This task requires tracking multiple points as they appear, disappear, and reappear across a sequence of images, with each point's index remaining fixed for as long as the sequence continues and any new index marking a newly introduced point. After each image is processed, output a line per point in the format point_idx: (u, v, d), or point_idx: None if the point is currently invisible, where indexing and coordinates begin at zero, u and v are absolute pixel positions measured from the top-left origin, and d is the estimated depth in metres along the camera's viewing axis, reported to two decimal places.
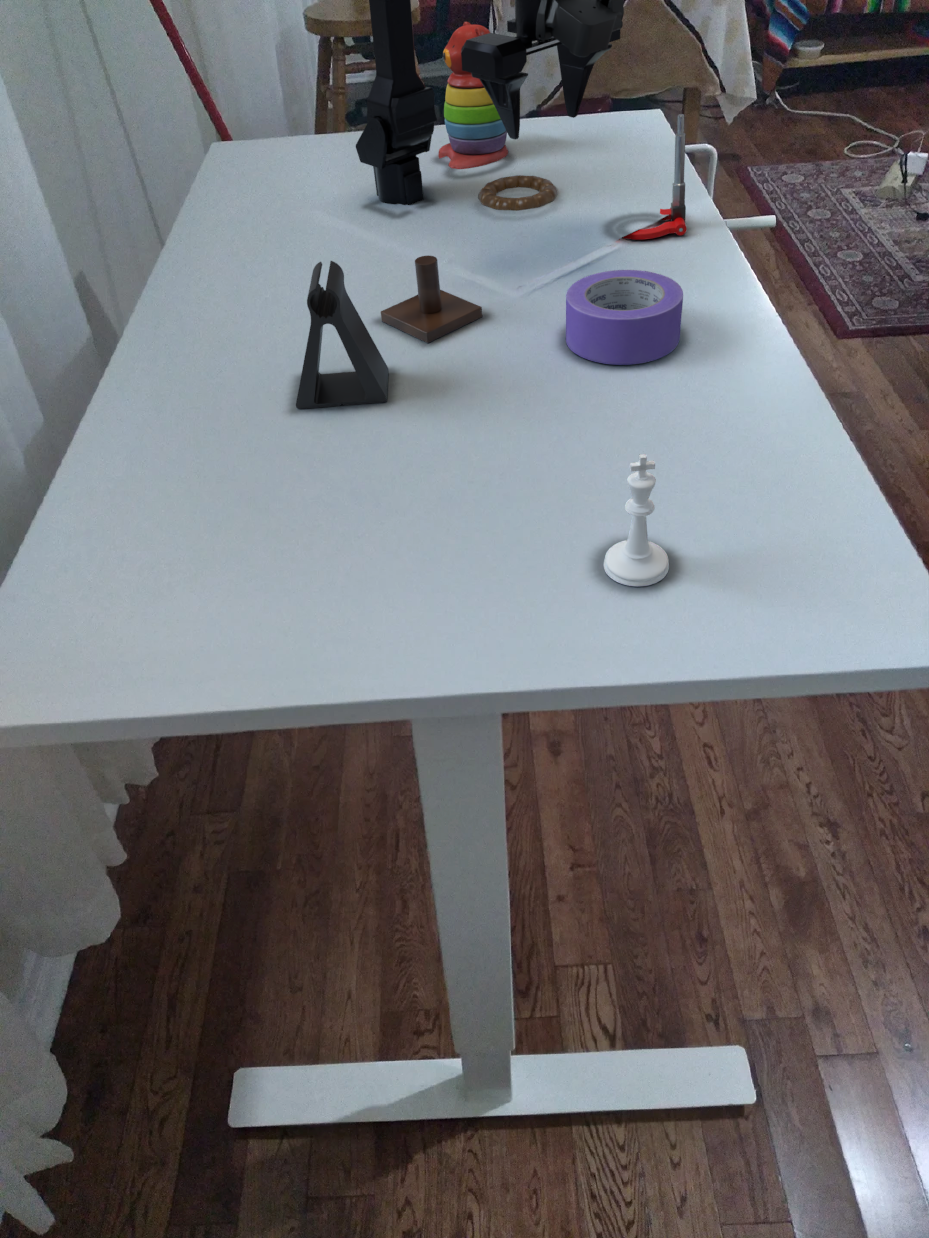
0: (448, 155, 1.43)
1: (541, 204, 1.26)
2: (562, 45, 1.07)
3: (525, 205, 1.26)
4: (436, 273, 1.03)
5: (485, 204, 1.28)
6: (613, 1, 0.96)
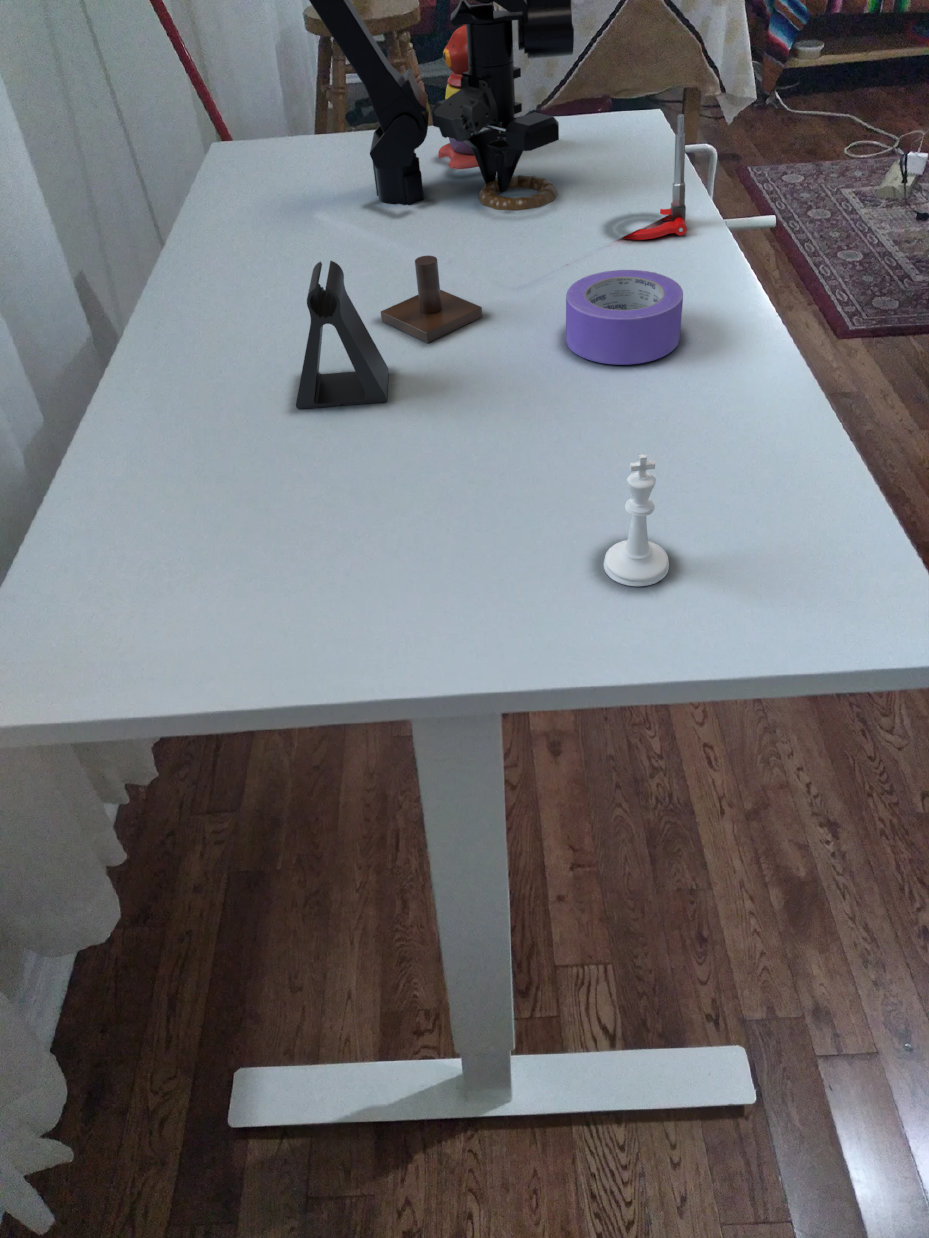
0: (448, 155, 1.43)
1: (541, 204, 1.26)
2: None
3: (525, 205, 1.26)
4: (436, 273, 1.03)
5: (485, 204, 1.28)
6: (464, 108, 1.19)
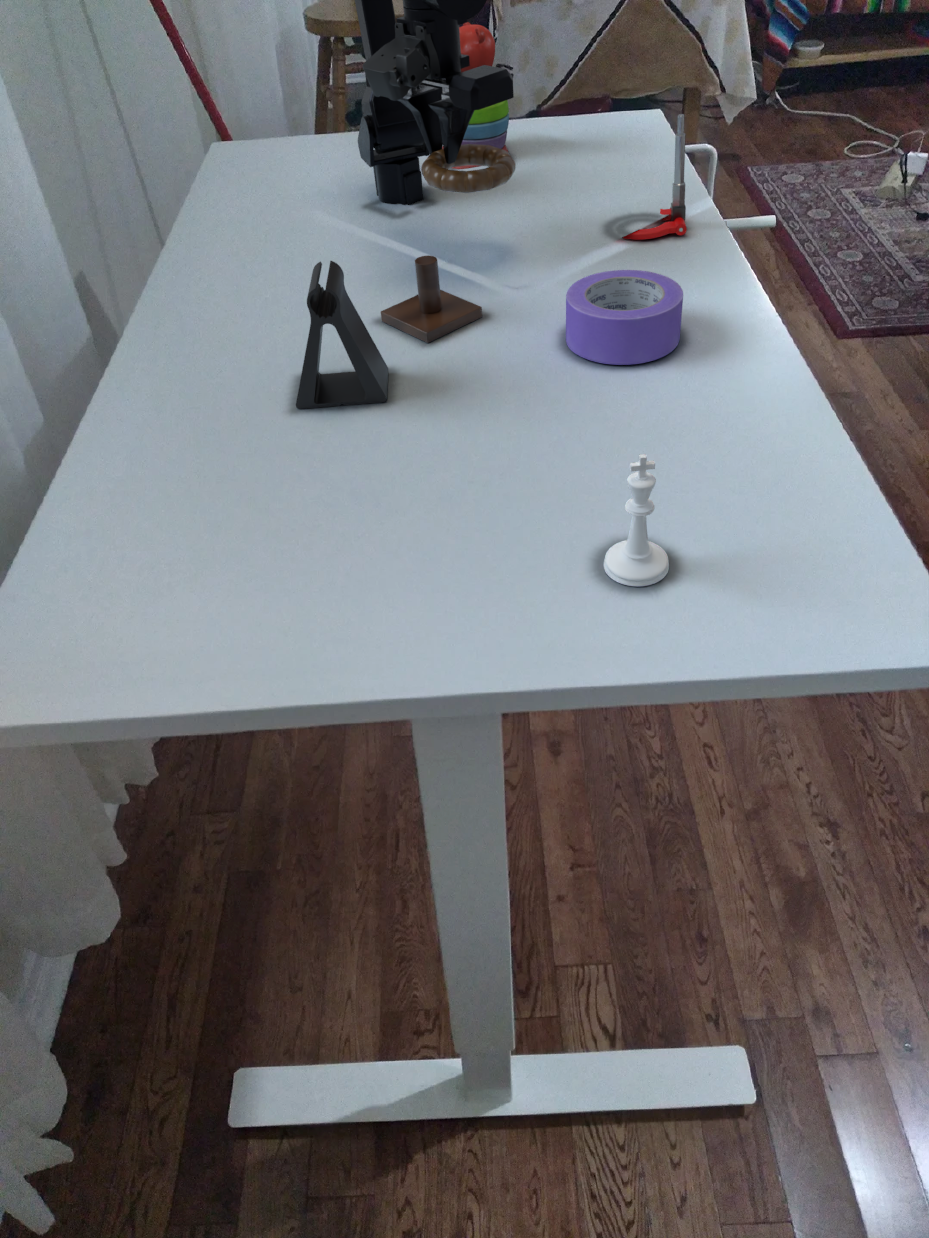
0: None
1: (495, 179, 1.06)
2: None
3: (476, 180, 1.05)
4: (436, 273, 1.03)
5: (429, 178, 1.07)
6: (397, 58, 0.98)
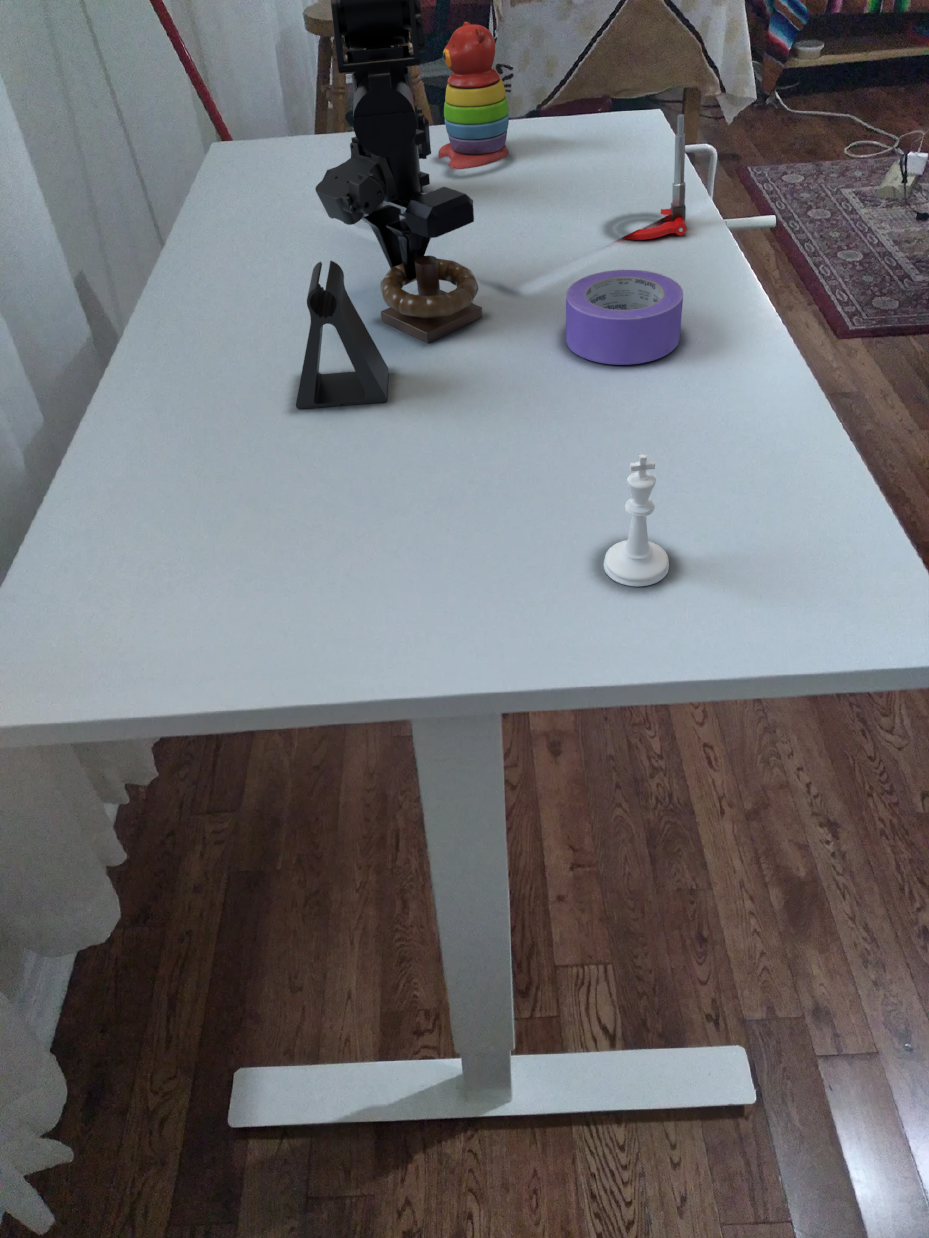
0: (448, 155, 1.43)
1: (456, 306, 1.02)
2: None
3: (435, 307, 1.01)
4: (436, 273, 1.03)
5: (387, 299, 1.03)
6: (349, 185, 0.94)
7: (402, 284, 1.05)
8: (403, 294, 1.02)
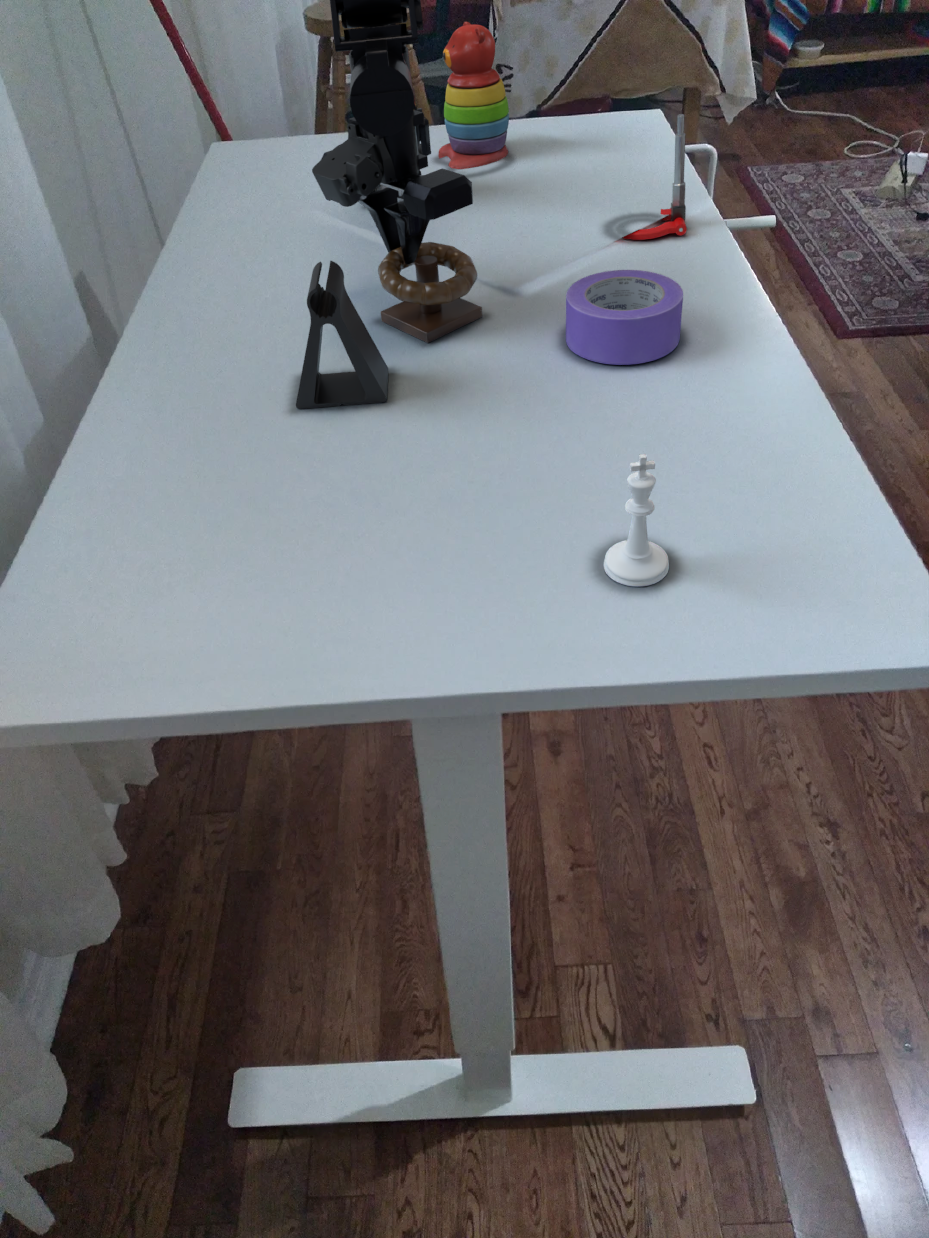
0: (448, 155, 1.43)
1: (454, 294, 1.01)
2: None
3: (434, 294, 1.00)
4: (436, 273, 1.03)
5: (385, 284, 1.02)
6: (347, 166, 0.92)
7: (400, 269, 1.04)
8: (401, 280, 1.01)
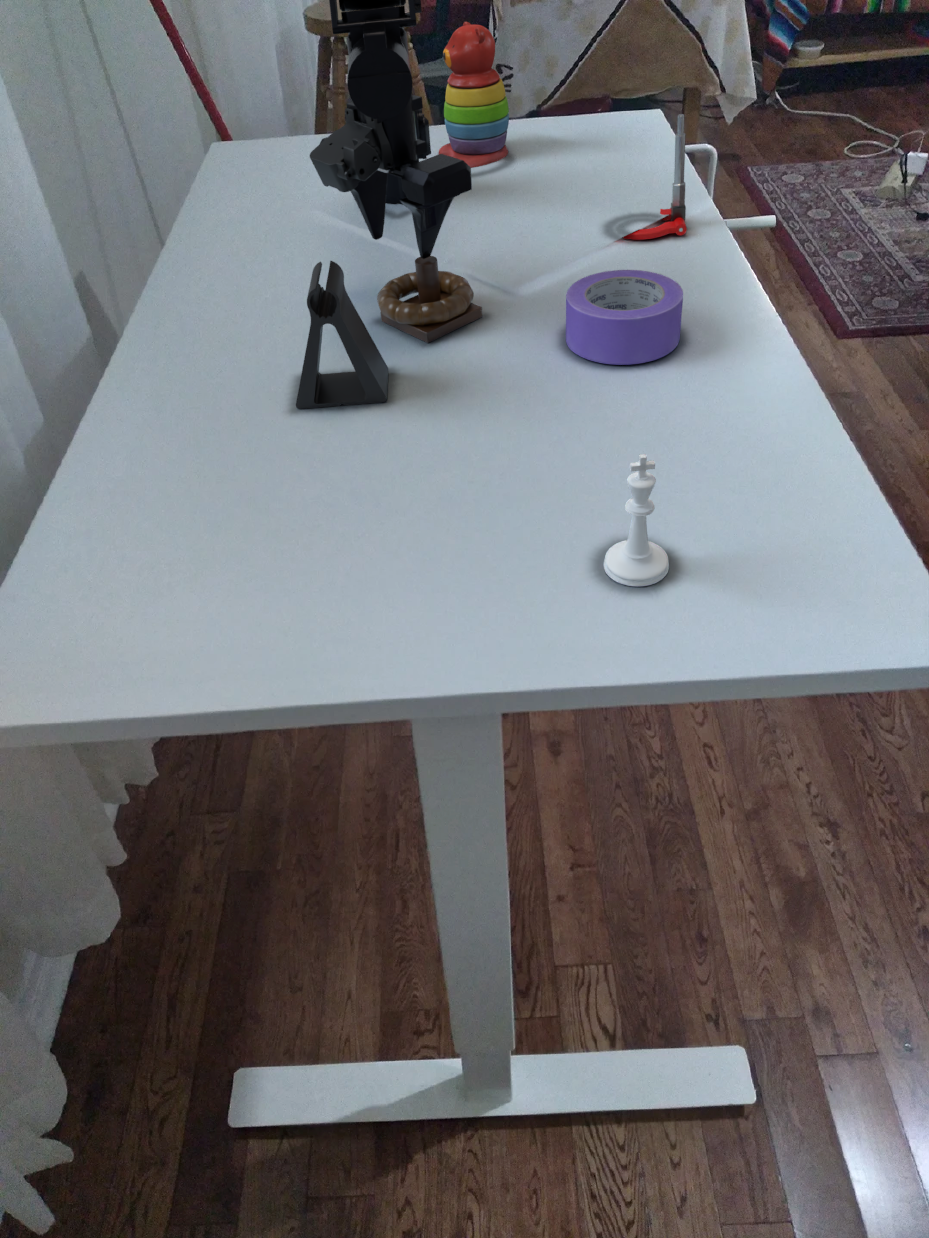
0: (448, 155, 1.43)
1: (451, 311, 1.03)
2: None
3: (431, 313, 1.02)
4: (436, 273, 1.03)
5: (383, 310, 1.04)
6: (344, 150, 0.92)
7: (398, 296, 1.07)
8: (398, 303, 1.03)
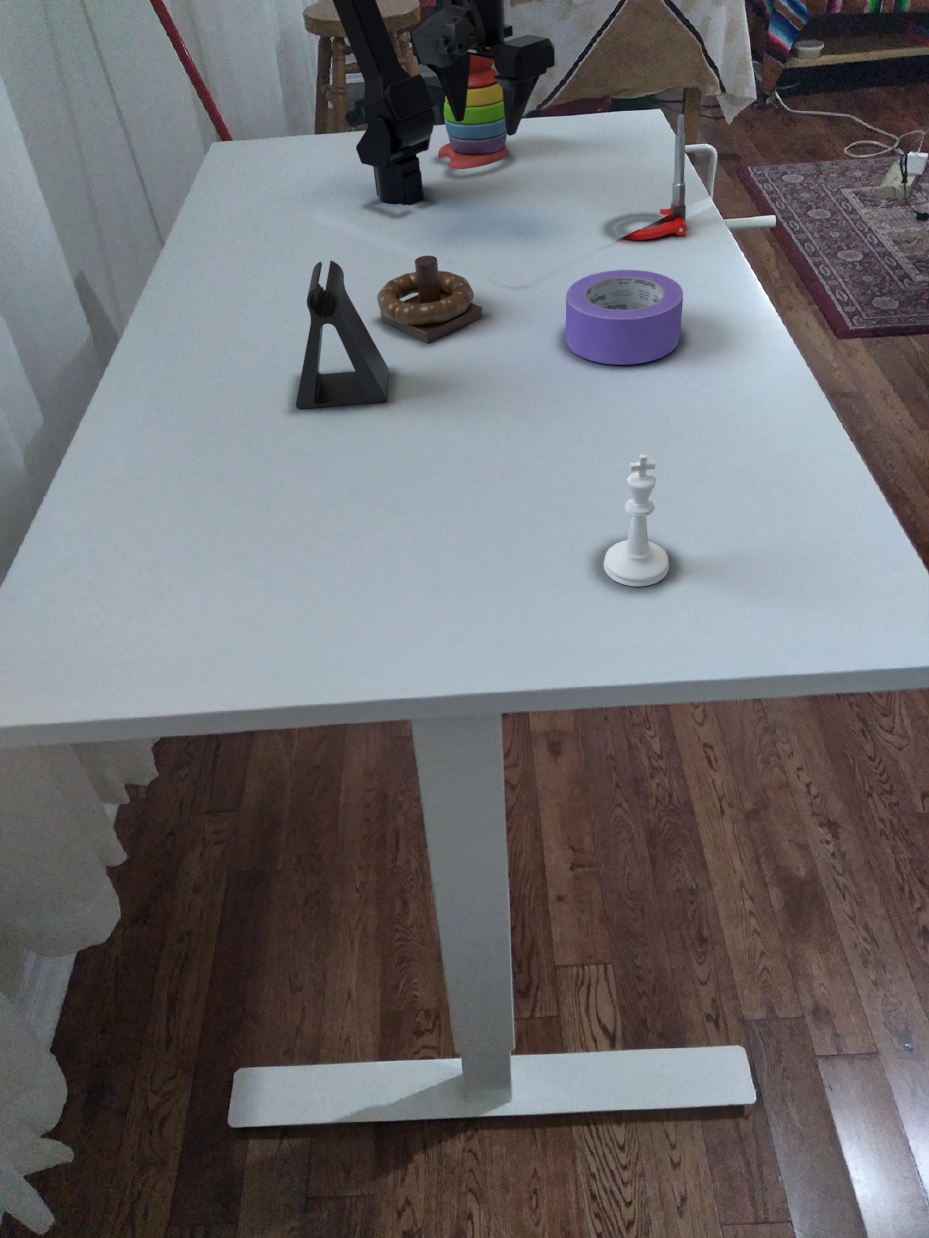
0: (448, 155, 1.43)
1: (451, 311, 1.03)
2: None
3: (431, 313, 1.02)
4: (436, 273, 1.03)
5: (383, 310, 1.04)
6: (445, 27, 1.04)
7: (398, 296, 1.07)
8: (398, 303, 1.03)
